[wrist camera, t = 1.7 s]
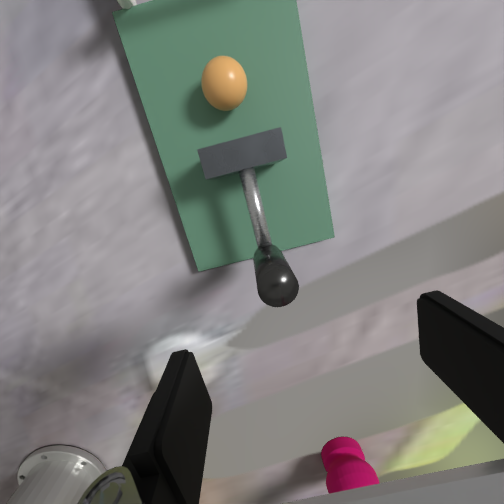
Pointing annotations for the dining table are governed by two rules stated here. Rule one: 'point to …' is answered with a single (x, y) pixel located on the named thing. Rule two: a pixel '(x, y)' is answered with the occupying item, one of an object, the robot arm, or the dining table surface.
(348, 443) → the pepper mill
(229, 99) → the ball
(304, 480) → the dining table surface
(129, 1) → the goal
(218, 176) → the grey mallet
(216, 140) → the pitch board
